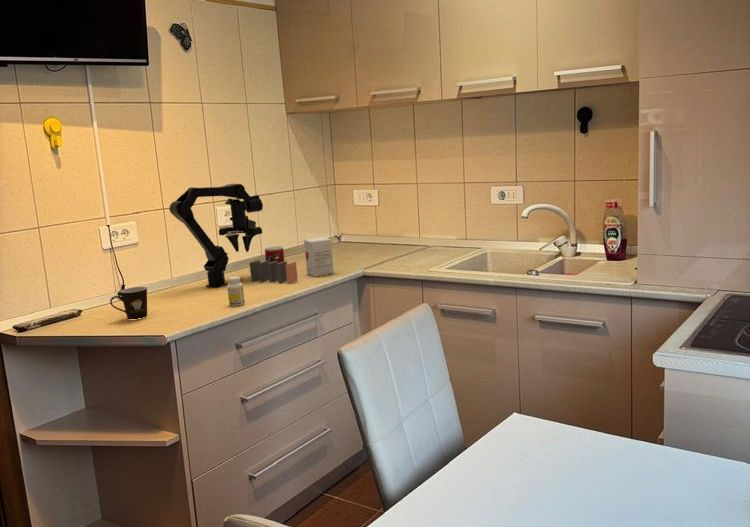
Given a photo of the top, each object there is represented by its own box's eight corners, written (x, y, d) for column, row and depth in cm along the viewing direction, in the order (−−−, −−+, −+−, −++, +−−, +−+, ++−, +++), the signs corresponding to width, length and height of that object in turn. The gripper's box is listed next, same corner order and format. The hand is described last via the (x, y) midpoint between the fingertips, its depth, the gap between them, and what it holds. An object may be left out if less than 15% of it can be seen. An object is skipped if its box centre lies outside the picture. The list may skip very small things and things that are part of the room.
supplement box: (306, 274, 295) (303, 239, 292) (325, 271, 299) (322, 236, 296) (314, 277, 287) (311, 241, 284) (334, 274, 291) (331, 238, 288)
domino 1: (254, 281, 287) (252, 262, 285) (251, 281, 288) (249, 262, 286) (262, 279, 291) (260, 260, 290) (258, 279, 292) (257, 260, 291)
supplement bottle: (238, 302, 253) (235, 275, 251) (247, 303, 250) (245, 276, 248) (226, 305, 249) (223, 278, 247) (236, 307, 246) (233, 279, 244)
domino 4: (281, 283, 281) (279, 263, 279) (278, 283, 281) (276, 263, 280) (288, 280, 285) (286, 261, 283) (285, 280, 286) (283, 261, 284)
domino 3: (272, 282, 283) (270, 263, 281) (269, 282, 283) (267, 263, 282) (279, 280, 287) (277, 261, 285) (276, 280, 288) (274, 260, 286)
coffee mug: (153, 313, 244) (149, 286, 242) (146, 320, 236) (142, 291, 234) (120, 316, 244) (116, 288, 242) (111, 323, 236) (107, 294, 234)
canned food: (263, 274, 301) (261, 249, 299) (274, 270, 308) (272, 246, 306) (278, 275, 298) (275, 249, 296) (288, 271, 304) (286, 246, 302)
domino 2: (263, 282, 285) (261, 263, 283) (260, 282, 286) (258, 263, 284) (270, 279, 289) (268, 260, 288) (267, 279, 290) (265, 260, 288)
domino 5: (290, 283, 278) (288, 264, 277) (287, 283, 279) (285, 264, 278) (297, 281, 283) (295, 261, 281) (294, 280, 283) (292, 261, 282)
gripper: (268, 211, 290) (272, 248, 293) (233, 211, 299) (237, 247, 301) (251, 215, 280) (255, 253, 283) (215, 215, 289) (220, 252, 292)
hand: (242, 251), depth 290 cm, fingers open, 5 cm apart
